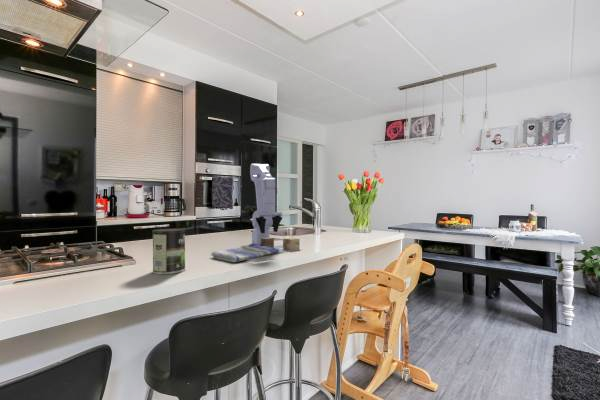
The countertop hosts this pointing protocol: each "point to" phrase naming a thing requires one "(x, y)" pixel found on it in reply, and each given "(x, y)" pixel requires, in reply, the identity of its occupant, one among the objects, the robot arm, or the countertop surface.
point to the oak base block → (291, 243)
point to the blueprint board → (282, 249)
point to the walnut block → (267, 242)
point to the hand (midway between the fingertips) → (269, 232)
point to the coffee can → (168, 250)
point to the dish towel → (243, 253)
